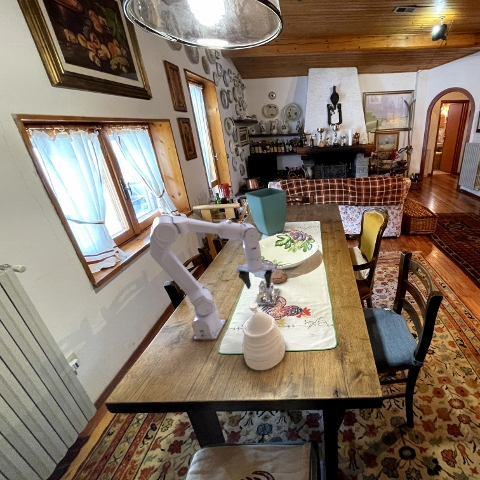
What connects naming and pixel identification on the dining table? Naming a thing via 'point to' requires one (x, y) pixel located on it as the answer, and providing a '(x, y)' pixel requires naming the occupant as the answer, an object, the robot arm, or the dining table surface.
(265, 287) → the tap lever
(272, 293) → the bracket
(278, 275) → the cookie
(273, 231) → the flower pot
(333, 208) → the dining table surface
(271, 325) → the honey pot
